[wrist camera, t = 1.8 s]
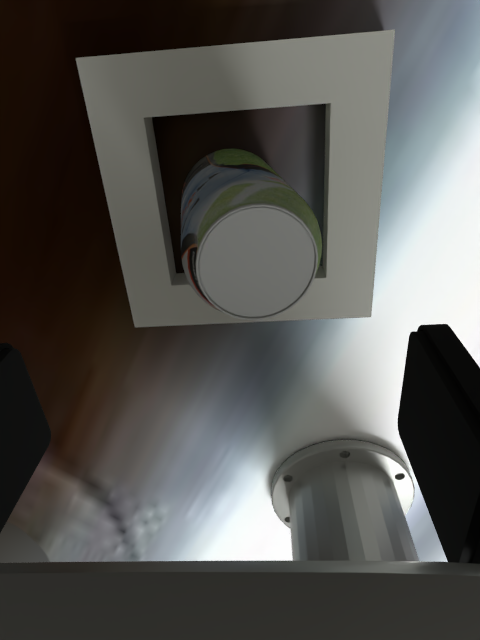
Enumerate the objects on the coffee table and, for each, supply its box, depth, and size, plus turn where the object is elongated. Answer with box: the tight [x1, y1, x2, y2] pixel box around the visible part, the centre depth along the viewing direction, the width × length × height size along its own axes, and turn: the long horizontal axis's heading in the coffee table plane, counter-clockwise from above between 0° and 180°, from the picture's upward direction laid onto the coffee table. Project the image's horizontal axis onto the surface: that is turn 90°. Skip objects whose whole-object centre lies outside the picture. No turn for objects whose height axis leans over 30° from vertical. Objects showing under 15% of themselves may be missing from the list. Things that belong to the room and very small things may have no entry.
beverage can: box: [181, 149, 322, 320], centre depth 22 cm, size 6×7×12 cm
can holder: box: [76, 30, 395, 327], centre depth 27 cm, size 16×16×2 cm
